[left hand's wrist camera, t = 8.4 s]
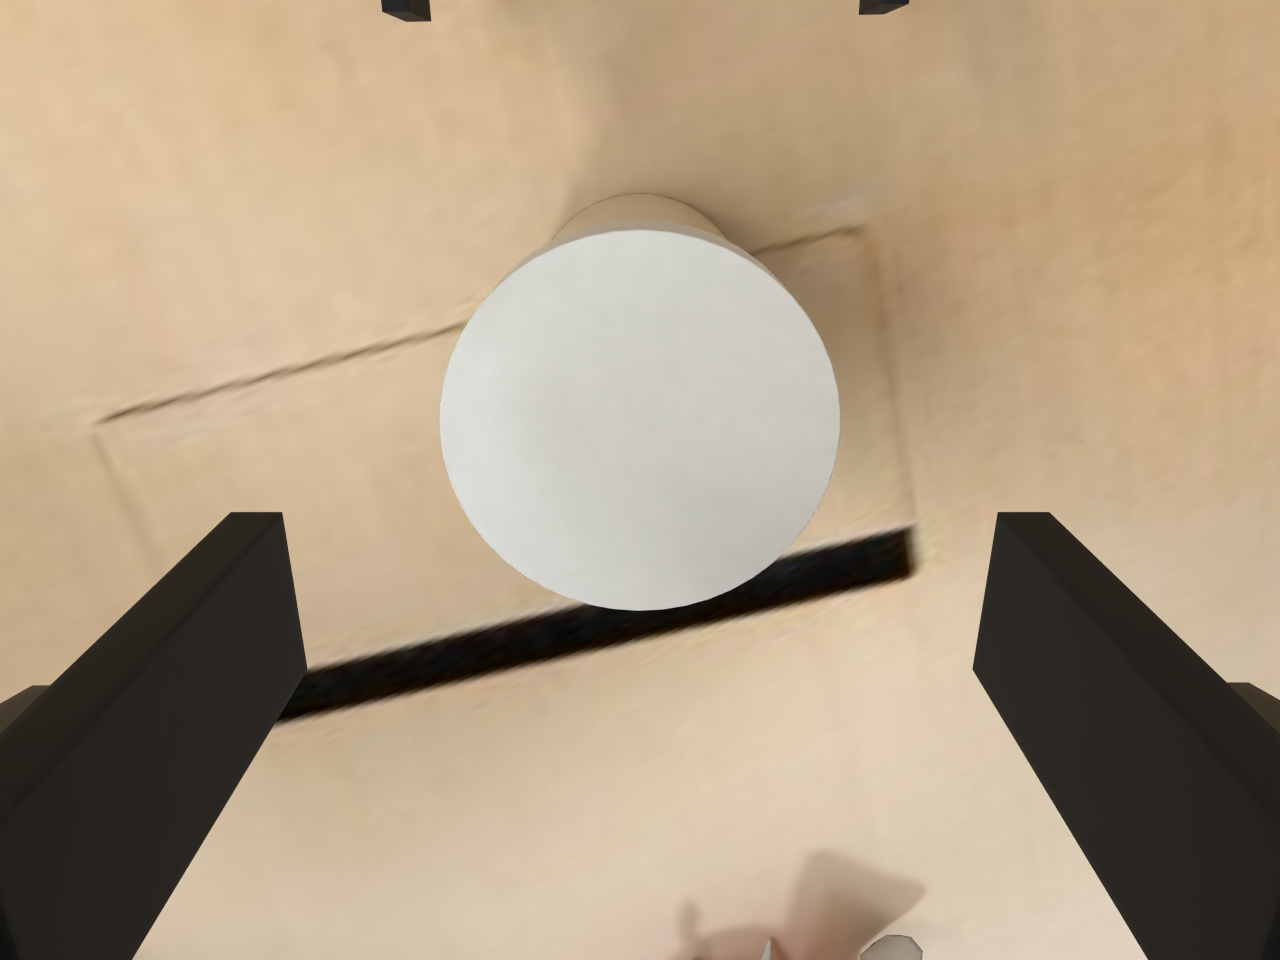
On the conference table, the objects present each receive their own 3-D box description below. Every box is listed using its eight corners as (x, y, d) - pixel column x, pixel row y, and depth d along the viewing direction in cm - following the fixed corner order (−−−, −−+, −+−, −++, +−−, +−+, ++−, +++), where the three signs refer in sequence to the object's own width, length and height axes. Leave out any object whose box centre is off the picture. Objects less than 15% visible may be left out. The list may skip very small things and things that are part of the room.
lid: (680, 134, 20) (685, 136, 18) (891, 442, 23) (916, 473, 21) (380, 372, 22) (354, 396, 20) (606, 628, 25) (603, 674, 23)
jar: (662, 146, 33) (679, 166, 19) (786, 325, 35) (885, 463, 21) (490, 282, 35) (387, 395, 21) (619, 443, 37) (607, 643, 23)
